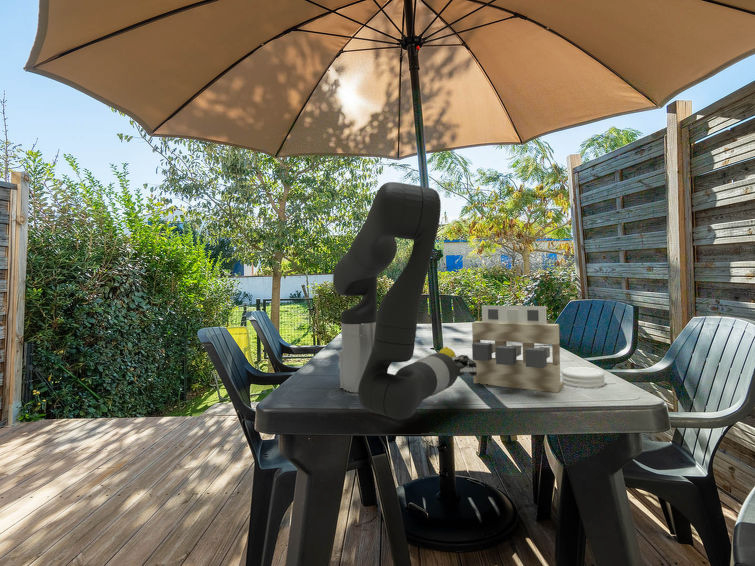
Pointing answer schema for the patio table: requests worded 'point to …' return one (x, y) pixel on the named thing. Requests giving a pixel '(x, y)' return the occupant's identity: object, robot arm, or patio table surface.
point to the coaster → (583, 377)
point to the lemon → (447, 352)
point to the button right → (537, 357)
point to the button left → (483, 351)
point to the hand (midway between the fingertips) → (465, 359)
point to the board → (519, 372)
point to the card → (514, 314)
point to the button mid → (507, 354)
